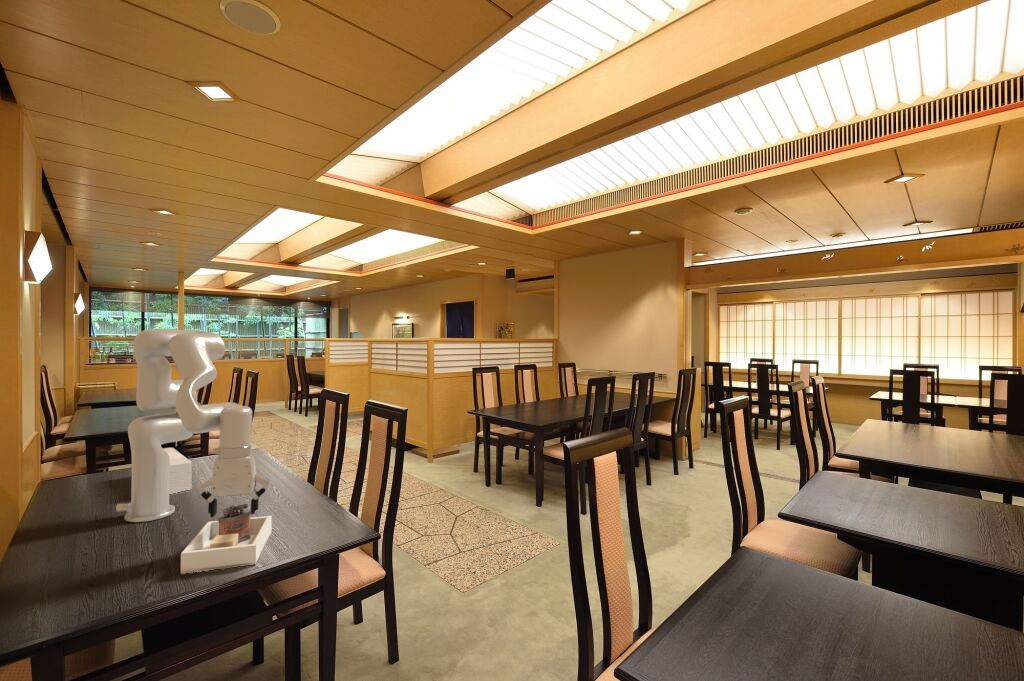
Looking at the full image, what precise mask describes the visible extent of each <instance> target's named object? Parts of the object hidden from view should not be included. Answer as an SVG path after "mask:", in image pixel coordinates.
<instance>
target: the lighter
mask: <svg viewBox="0 0 1024 681" xmlns="http://www.w3.org/2000/svg"><path fill="white" fill-rule="evenodd" d="M248 508H249V503H248V502H244V503H241V504H238V505H233V504H232V505H230V506H229V507H227V508H224V509H223V510H222V511H223V512H222V514H223V516H221V517H218V519H217V521H218V522H219V535H227V534H237V533H238V543H241V542H244V541H246V540H249V539H250V538H251V534H250V518H251V515H252V514H251V509H250V510H249V509H248ZM245 509H246V510H245Z"/></svg>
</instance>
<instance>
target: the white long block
mask: <svg viewBox="0 0 1024 681" xmlns="http://www.w3.org/2000/svg"><path fill="white" fill-rule="evenodd" d="M163 449H164V450H165V451H166V452H167V453H168V455H169V458H170V478H169V494H171V495H174V494H173V493H176V494H178V493H177V492H181V491H185V490H190V489H192V487H193V486H192V480H193V479H192V477H193V476H192V473H193V470H192V469H193V468H192V467H193V466H192V465H193V462H192V461H191V460H190V459H188V458H187V457H186V456H184V455H183V454H181V453H180V452H179V451H178V450H177V449H175V448H174V447H164V448H163ZM181 493H182V492H181Z"/></svg>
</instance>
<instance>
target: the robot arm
mask: <svg viewBox="0 0 1024 681" xmlns="http://www.w3.org/2000/svg"><path fill="white" fill-rule="evenodd" d="M134 337H135V338H133V344H132V349H133V354H134V359H135V361H136V366H137V376H136V377H137V379H136V396H135V397H136V399H135V400H136V401H135V402H136V405H137V408H138V409H139V410H140V411H142V412H148V413H149V412H161V411H171V410H174V412H169V413H160V414H159V413H157V414H150V415H145V416H141V417H137V418H136V419H134V420H132V421H131V422H130V423H129V425H128V428H127V435H128V440H129V443H130V445H129V446H130V451H131V452H130V454H131V491H130V492H131V494H130V495H131V496H130V497H131V498H130V499H131V502H128V503H117V504H116V506H115V511H116V513H122V512H126V513H125V515H124V521H126V522H128V523H129V522H130V523H143V522H150V521H155V520H159V519H162V518H165V517H167V516H171V515H172V514H173V513H175V511H176V506H175V505H173V504H170V495H169V478H170V458H169V455H168V453H167V452H166V451H165V450H164V448H163V447H162V445H166V444H169V443H175V442H179V441H180V442H181V441H186V440H188V439H190V438H191V437H192V436H193V435H194V434H196V435H197V434H204V433H211V432H216V431H217V432H218V431H219V444H218V445H219V446H218V447H216V448H215V447H214V448H213V450H212V453H213V454H217V455H218V456H217V457H216V458H215V459H214V462H213V463H214V464H213V468H212V474H211V478H210V479H209V480H206V481H204V482H202V483H201V484H199V485H197V487H196V488H197V491H198V492H199V494H200V496H201V497H202V498H203V499H204V500H205V501H206V502H207V503H208V509H207V510H208V514H210V516H209V517H210V518H214V517H215V516H216V515H217V513H218V499H217V498H216V497H232V496H245V495H249V496H250V497H251V498H252V499H251V501H250V511H251V514H250V515H254V514H255V513H256V511H258V510H259V499H260V497H261V496H263V494H264V493H265V492H266V490H267V489H268V487H269V486H270V484H271V481H270V480H267V479H265V478H264V477H261V476H258V475H257V466H256V460H255V456H254V454H252V435H253V434H252V432H253V429H252V428H253V410H252V408H251V407H250V406H246V405H240V404H238V403H237V402H234V401H233V402H228V401H227V402H220V403H210V404H209V403H208V404H201V405H198V392H197V390H199V389H202V388H204V387H206V386H207V385H209V384H210V383H211V382H213V381H214V380H215V379H216V378H217V375H218V371H217V368H216V366H215V365H214V363H213V361H215V360H216V361H217V360H220V359H221V358H223V357H224V355H225V354H226V343H225V341H224V339H223V337H221V336H220V335H219V334H218V333H215V332H209V331H203V330H197V329H175V328H174V329H173V328H172V329H171V328H152V329H145V330H142V331H139V332H138V333H137V334H136V335H135V336H134ZM166 357H171V358H172V359H173V362H174V364H175V366H176V368H177V370H178V373H179V376H180V378H181V379H173V380H172V373H173V372H172V371H173V368H172V365H171V363H170V362H169V360H168V359H167V358H166ZM257 484H259V485H262V487H261V488H260V489H259V490H258V489H257V488H256V486H257ZM209 486H210V492H209V490H207V488H208V487H209Z"/></svg>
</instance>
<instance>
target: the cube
mask: <svg viewBox="0 0 1024 681" xmlns="http://www.w3.org/2000/svg"><path fill="white" fill-rule="evenodd" d="M231 546H238V533H237V534H227V535H217V536H216V537H215V538H214V539H213V541H212V542H211V543H210V549H213V548H222V547H231Z"/></svg>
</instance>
